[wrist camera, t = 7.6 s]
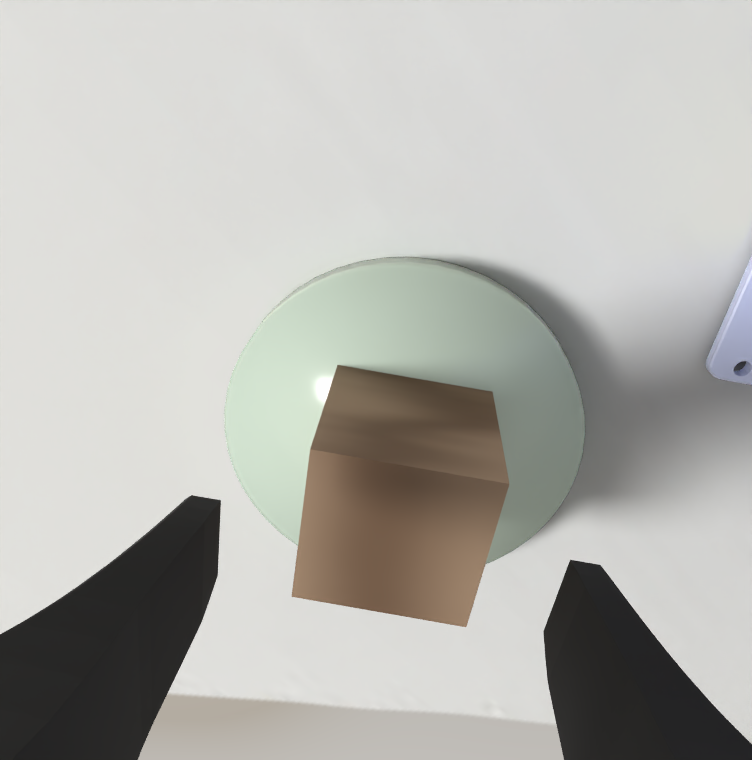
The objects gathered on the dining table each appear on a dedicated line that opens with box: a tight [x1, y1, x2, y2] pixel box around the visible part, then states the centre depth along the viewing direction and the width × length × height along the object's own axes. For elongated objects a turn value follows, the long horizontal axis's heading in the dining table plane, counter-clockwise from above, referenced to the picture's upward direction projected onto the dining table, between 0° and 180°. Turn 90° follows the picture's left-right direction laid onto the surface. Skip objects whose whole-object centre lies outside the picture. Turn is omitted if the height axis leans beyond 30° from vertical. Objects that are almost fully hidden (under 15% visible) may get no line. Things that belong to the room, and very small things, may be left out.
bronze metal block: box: [292, 365, 509, 627], centre depth 19 cm, size 5×5×5 cm
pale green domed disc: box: [224, 257, 585, 564], centre depth 22 cm, size 12×12×1 cm
